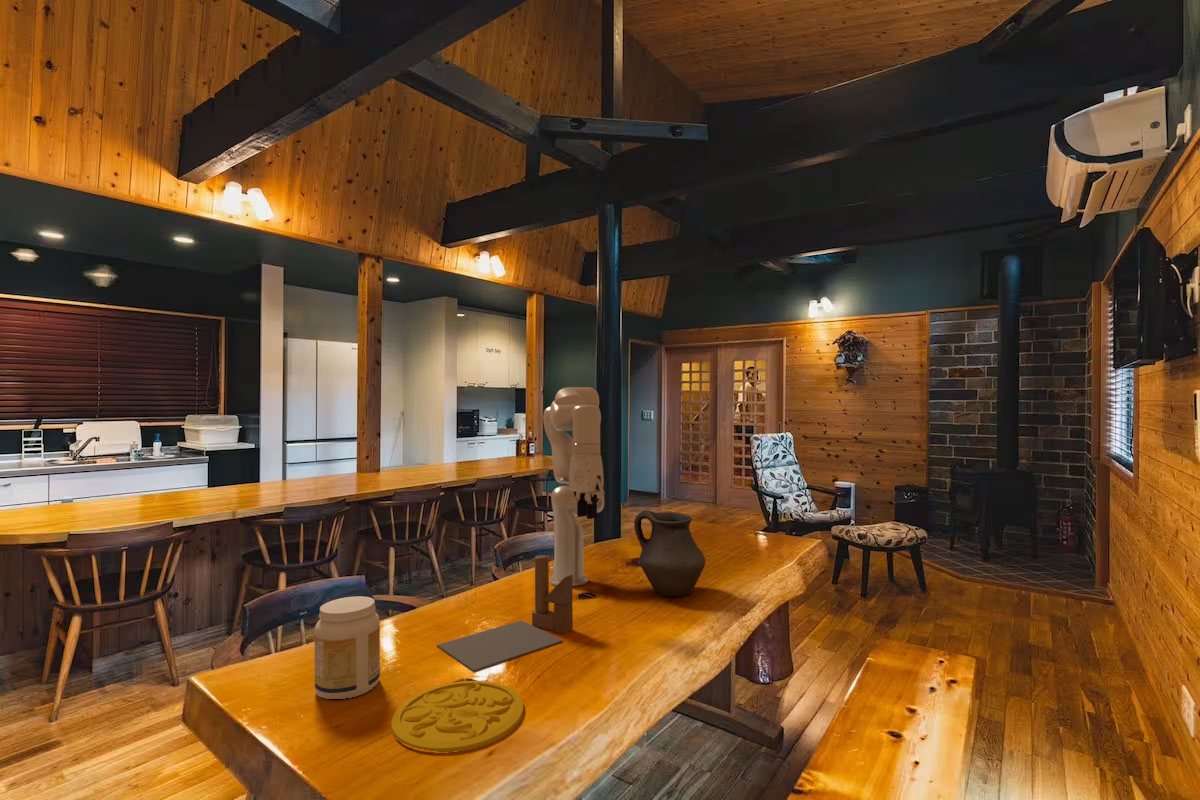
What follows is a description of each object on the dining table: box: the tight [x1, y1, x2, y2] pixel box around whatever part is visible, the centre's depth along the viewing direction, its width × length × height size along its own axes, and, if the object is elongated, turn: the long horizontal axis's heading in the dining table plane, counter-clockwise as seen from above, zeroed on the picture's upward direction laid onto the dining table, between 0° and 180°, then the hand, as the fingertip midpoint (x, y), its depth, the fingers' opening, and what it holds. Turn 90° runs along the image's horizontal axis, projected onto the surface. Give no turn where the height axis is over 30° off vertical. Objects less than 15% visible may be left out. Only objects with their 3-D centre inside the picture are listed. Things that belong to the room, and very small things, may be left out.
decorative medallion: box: [390, 680, 524, 752], centre depth 105 cm, size 24×24×2 cm
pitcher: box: [633, 510, 706, 598], centre depth 175 cm, size 21×22×25 cm
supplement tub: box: [313, 595, 381, 700], centre depth 116 cm, size 12×12×17 cm
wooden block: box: [531, 554, 574, 635], centre depth 147 cm, size 4×11×18 cm, turn 57°
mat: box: [436, 619, 563, 673], centre depth 137 cm, size 18×24×1 cm
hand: (587, 516), depth 156 cm, fingers open, 3 cm apart
